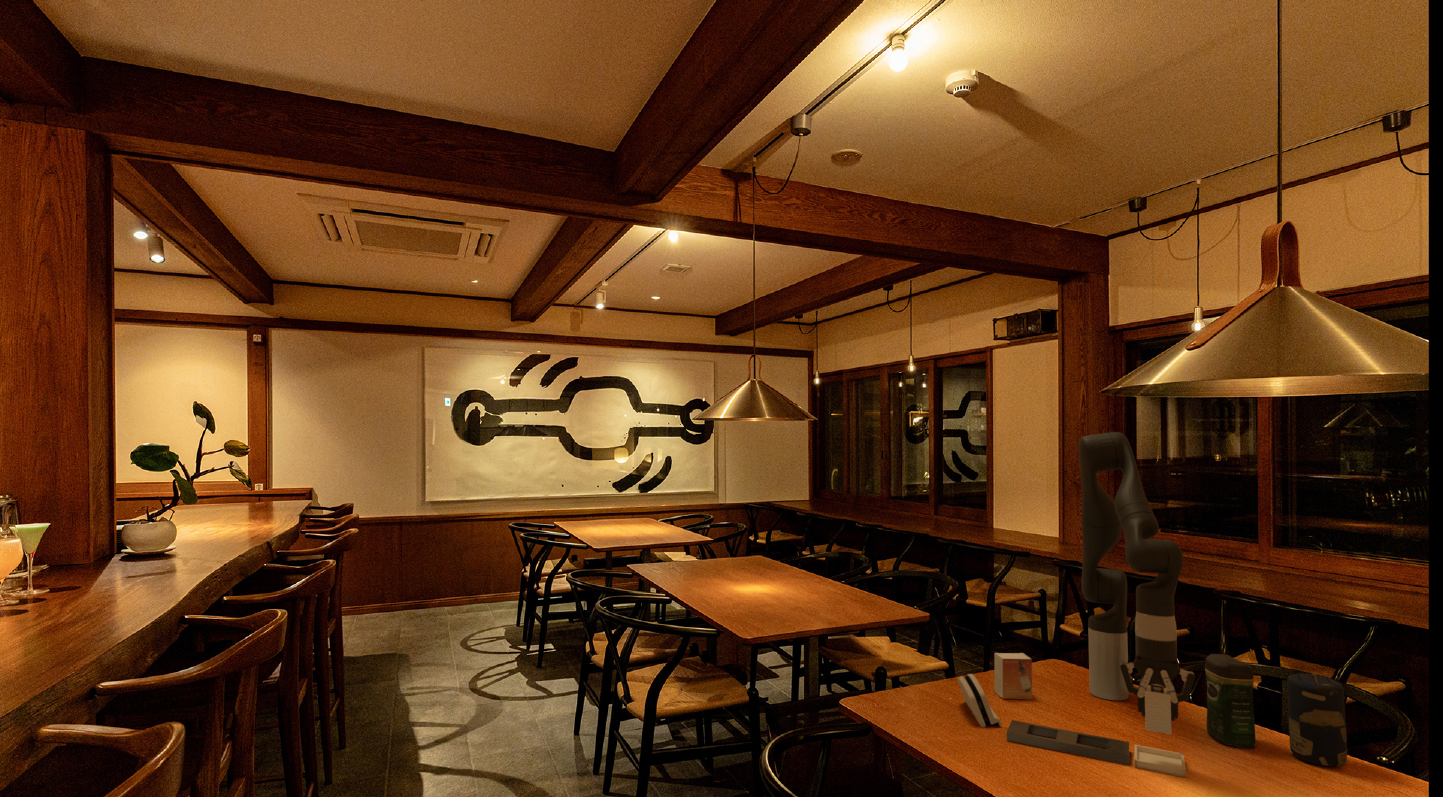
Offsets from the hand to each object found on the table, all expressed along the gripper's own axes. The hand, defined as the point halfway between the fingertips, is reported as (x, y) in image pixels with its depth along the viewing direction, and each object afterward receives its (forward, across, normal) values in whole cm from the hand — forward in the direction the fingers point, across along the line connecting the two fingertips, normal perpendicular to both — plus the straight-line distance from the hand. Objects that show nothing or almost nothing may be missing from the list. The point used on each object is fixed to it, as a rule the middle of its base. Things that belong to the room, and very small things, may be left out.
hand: (1157, 717), depth 152 cm
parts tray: (+10, 0, 0) cm, 10 cm away
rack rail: (+10, +17, 0) cm, 20 cm away
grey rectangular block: (+2, 0, 0) cm, 2 cm away
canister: (+10, -30, -20) cm, 37 cm away
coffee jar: (+10, -15, -23) cm, 29 cm away
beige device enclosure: (+10, +38, -10) cm, 41 cm away
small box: (+10, +32, -28) cm, 44 cm away
